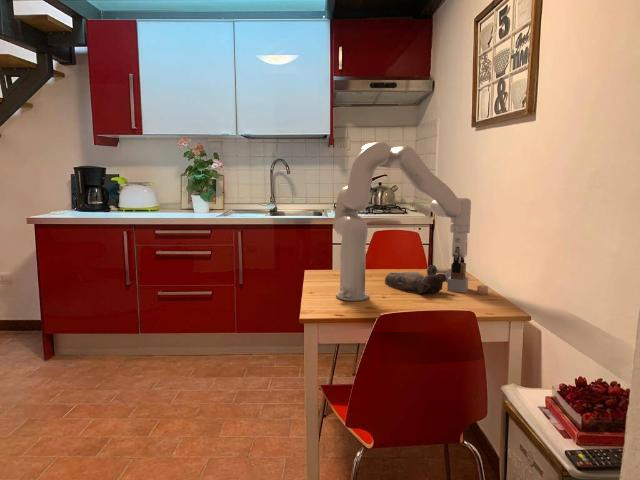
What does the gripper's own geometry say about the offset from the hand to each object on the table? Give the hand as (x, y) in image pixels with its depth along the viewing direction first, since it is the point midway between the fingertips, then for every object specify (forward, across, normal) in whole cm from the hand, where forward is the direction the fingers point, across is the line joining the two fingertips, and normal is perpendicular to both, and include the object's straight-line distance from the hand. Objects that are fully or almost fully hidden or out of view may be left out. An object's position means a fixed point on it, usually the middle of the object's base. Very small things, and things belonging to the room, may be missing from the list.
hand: (458, 270), depth 193 cm
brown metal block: (+3, 0, 0) cm, 3 cm away
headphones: (+8, +20, +9) cm, 24 cm away
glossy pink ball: (+8, -3, -10) cm, 13 cm away
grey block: (+8, 0, 0) cm, 8 cm away
